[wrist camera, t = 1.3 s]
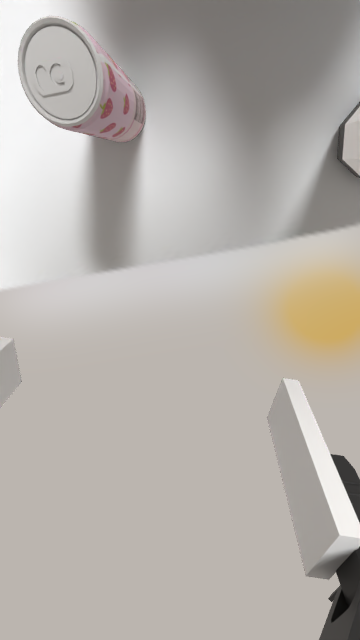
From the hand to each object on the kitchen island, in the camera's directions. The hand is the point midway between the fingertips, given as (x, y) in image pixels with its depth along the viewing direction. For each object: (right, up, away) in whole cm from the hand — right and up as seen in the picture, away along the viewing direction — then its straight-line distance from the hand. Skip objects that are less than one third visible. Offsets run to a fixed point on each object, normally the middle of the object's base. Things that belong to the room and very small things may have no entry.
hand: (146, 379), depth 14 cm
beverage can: (-5, +25, +17) cm, 31 cm away
